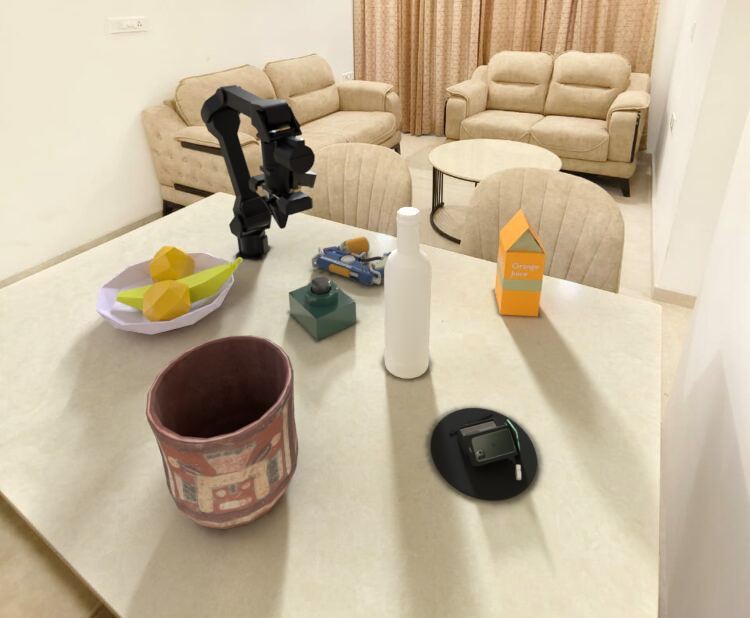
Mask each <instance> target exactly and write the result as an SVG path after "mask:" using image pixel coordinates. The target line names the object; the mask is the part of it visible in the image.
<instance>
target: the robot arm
mask: <svg viewBox="0 0 750 618" xmlns="http://www.w3.org/2000/svg"><path fill="white" fill-rule="evenodd" d="M241 114H242V115H244V116H246V117H248V118H249V119H250V124H251V126H252V127H253V128H254V129H256V131H257V133H256V134H255V137H256V138H258V139H260V148H261V149H260V150H261V159H262V164H260V165H259V171H261V172H262V173H261V174H256V175H253V176H252V175H251V172H250V169H249V166H248V163H247V160H246V156H245V154H244V150H243V147H242V144H241V140H240V137H239V130H240V127H241V122H242V120H241ZM200 118H201V120H202V122H203V124H205V127H206V130H207V131H208V132H209V133H210V135H212V137H214V138H215V139H216V140H217V141H218V145H219V148H220V150H221V151H220V152H221V154H222V158H223V160H224V163H225V167H226V170H227V172H228V176H229V180H230V183H231V185H232V189H233V192H234V195H235V199H234V203H233V207H232V213H233V218H232V219H231V220H230V222H229V224H228V226H229V230H230V233H231V234H232V235H233V236H235V237H236V239H237V246H238V252H237V253H236V254H235V257H236V258H238V257H241V258H242V259H248V260H261V259H262V258H263V257H264V256H265V254H266V253H267V252H268V251H269V250H270V249H271V246H270V245H269V240H268V239H269V237H268V235H267V234H266V230H270V229H271V226H272V225H271V224H272V218H273V220H274V221H275V222H276V225H277V226H278V227H279V228H280V230H282V229H286V227H287V225H288V221H289V220H288V219H289V216H291V215H292V216H293V215H295V214H299V213H302V212H305V211H308V210H312V209H313V208H314V204H313V203H314V201H313V198H312V197H311V196H309V195H308V194H306V193H304V192H303V191H302V190H298V189H299V187H307V188H309V189H314V187H315V184H316V180H317V176H318V173H316V172H314V171H312V170H311V169H312V168H313V166H314V164H315V160H316V156H315V153H314V151H313V149H312V148H311V146H309V145H306V140H305V139H304V138H302V137H299V136H302V135H303V132H302V130H301V124H300V122H299V121H298V119H297V117H296V115H295V113H294V111H293V109H292V107H291V106H290V104H289V103H288V102H287V101H286V100H285V99H278V98H262V97H260V96H258V95H256V94H254V93H252V92H250V91H248V90H246V89H244V88H243V87H242V86H240V85H237V84H231V85H224V86H219V88H217V89H216V90H215V93H214V94H212V95H211V96H210V97H208V98H207V99H206V100H205V101H204V102H203V104H202V106H201V109H200ZM258 187H261V191H262V192H263V195H260V194H259V193H258V190H259V188H258ZM295 190H297V191H295Z"/></svg>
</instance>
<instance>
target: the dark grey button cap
mask: <svg viewBox="0 0 750 618" xmlns="http://www.w3.org/2000/svg"><path fill="white" fill-rule="evenodd" d="M330 281H331V280H330V278H329V277H327V276H324V275H319V276H315V277H314V278H313V279H312V280H311V281H310V282H311V283H312V292H313V293H314V294H317V295H322V294H326V293H329V292H330Z"/></svg>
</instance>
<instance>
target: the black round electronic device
mask: <svg viewBox="0 0 750 618" xmlns="http://www.w3.org/2000/svg"><path fill="white" fill-rule="evenodd" d="M430 454H431V458H432V461H433V464H434V466H435V468H436V469H437V471H438V473H439V474H440V476H441V477H442V478H443V479H444V481H446V482H447V483H448V484H449V485H450V486H451V487H452V488H454V489H456V490H457V491H459V492H460V493H462V494H464V495H466V496H469V497H472V498H474V499H478V500H483V501H491V502H492V501H493V502H494V501H495V502H497V501H504V500H508V499H511V498H512V499H513V498H515V497H517V496H519V495H520V494H522V493H523V492H525V491H526V490H527V489H528V488H529V486H530V485H531V484H532V482H533V480H534V478H535V475H536V473H537V469H538V457H537V451H536V448H535V446H534V443H533V442H532V440H531V438H530V437H529V435H528V433H527V432H526V431H525V430H524V428H522V427H521V426H520V425H519V424H518V423H517V422H515V421H514V420H513V419H512V418H510V417H508V416H506V415H505V414H503V413H500V412H497V411H494V410H491V409H488V408H482V407H481V408H480V407H467V408H461V409H457V410H455V411H452V412H450V413H448V414H446V415H445V416H443V418H442V419H440V421H439V422H437V424H436V426H435V427H434V429H433V431H432V434H431V438H430Z"/></svg>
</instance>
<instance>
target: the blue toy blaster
mask: <svg viewBox="0 0 750 618" xmlns="http://www.w3.org/2000/svg"><path fill="white" fill-rule="evenodd" d="M370 247H371V246H370V242H369V239H368V238H367V237H366V236H359V237H354V238H349V239H345V240H343V241H342V242H341V243H340V244H338V245H337V246H336V245H335V246H327V247H323V248H321V246H318V250H317V251H318V252H317V253H315V254H314V255H313V257H311V268H313V269H314V268H316V267H317V268H319V269H321V270H324V271H327V272H330V273H332V274H335V275H338V276H341V277H344V278H347V279H349V280H352V281H355V282H358V283H360V284H362V285H366V286H370V285H373V284H374V285H380V284H381V283H382V280H384V268H385V265H386V262H387V259H388V257H389V254H391V253H392V252H393V251H390V252H384V253H383V255H382V256H379V255H377V256H373V257H369V258H367V254H368V253H369V251H370V249H371V248H370ZM374 261H375V262H374ZM371 262H372V263H371ZM366 263H367V264H366ZM364 264H366V265H364Z"/></svg>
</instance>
